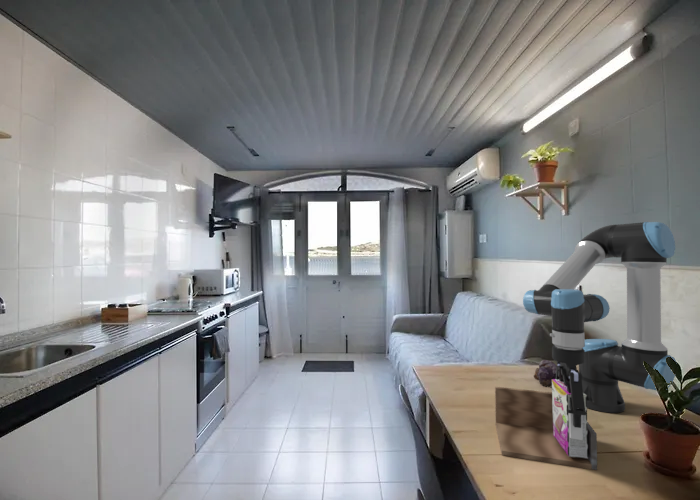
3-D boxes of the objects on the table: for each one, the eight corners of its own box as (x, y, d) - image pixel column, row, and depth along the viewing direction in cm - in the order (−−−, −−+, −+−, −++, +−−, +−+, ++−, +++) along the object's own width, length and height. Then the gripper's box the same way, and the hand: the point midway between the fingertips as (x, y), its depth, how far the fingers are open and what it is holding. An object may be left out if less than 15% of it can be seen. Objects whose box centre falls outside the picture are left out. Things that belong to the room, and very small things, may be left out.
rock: (535, 388, 145) (563, 391, 141) (534, 368, 144) (563, 371, 140) (532, 375, 156) (558, 377, 152) (532, 357, 155) (558, 358, 151)
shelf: (574, 435, 104) (574, 394, 105) (597, 470, 87) (596, 421, 87) (495, 424, 111) (495, 386, 111) (501, 455, 94) (501, 410, 94)
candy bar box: (551, 435, 100) (550, 378, 101) (570, 437, 99) (569, 379, 100) (567, 457, 89) (566, 393, 90) (589, 459, 88) (588, 394, 89)
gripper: (542, 336, 107) (543, 407, 107) (564, 357, 85) (565, 448, 84) (570, 337, 105) (571, 410, 105) (600, 359, 83) (602, 453, 82)
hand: (569, 427), depth 94 cm, fingers closed on candy bar box, 11 cm apart
